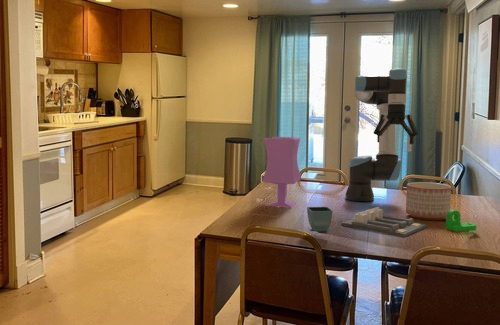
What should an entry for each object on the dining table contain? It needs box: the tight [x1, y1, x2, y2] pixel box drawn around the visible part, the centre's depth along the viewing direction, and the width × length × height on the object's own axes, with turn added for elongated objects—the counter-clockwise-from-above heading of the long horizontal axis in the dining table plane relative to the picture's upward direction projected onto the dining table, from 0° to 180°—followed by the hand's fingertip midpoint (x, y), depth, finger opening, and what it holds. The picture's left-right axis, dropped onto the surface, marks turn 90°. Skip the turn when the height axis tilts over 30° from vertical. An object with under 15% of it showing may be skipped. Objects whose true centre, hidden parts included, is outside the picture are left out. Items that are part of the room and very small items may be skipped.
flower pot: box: [306, 206, 334, 233], centre depth 193 cm, size 9×9×9 cm
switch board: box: [340, 215, 428, 238], centre depth 201 cm, size 28×22×3 cm
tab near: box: [353, 211, 368, 224], centre depth 201 cm, size 4×4×5 cm
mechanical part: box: [445, 209, 477, 232], centre depth 198 cm, size 12×6×8 cm, turn 108°
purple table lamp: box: [262, 136, 302, 209], centre depth 241 cm, size 16×16×35 cm
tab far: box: [371, 206, 384, 218], centre depth 211 cm, size 4×4×5 cm
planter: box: [405, 181, 452, 221], centre depth 220 cm, size 19×19×15 cm
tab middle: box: [362, 208, 376, 221], centre depth 206 cm, size 4×4×5 cm
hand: (394, 150), depth 217 cm, fingers open, 13 cm apart
